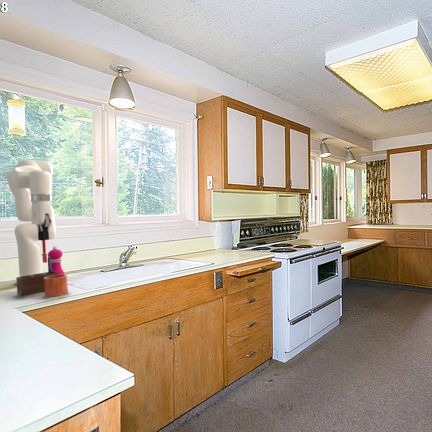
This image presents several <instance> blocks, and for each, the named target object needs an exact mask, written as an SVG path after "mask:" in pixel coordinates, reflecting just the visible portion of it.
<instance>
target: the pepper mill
mask: <svg viewBox="0 0 432 432" xmlns="http://www.w3.org/2000/svg"><path fill="white" fill-rule="evenodd" d="M48 257H50V258H51V271H56V272H59V274H66V273H65V271H64V270H63V268H62V263H61V262H62V257H63V251H62V250H61V249H58V247H57V246H53V247H52V249H51V250H49V251H48V252H47V258H48Z"/></svg>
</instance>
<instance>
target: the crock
mask: <svg viewBox="0 0 432 432" xmlns="http://www.w3.org/2000/svg"><path fill="white" fill-rule="evenodd" d="M68 286H69V283H68V274H66V273H65V274H58V275H51V276H47V277H44V291H45V292H44V297H45V298H57V297H62V296H65V295H67V294H69V287H68Z"/></svg>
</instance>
